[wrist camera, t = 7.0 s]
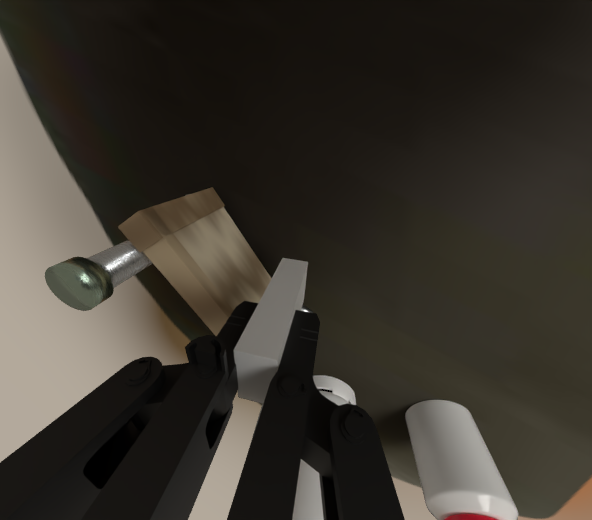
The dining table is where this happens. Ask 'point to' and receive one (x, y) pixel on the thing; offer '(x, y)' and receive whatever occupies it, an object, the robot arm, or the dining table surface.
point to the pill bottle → (456, 464)
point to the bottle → (308, 485)
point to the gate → (200, 254)
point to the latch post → (95, 275)
